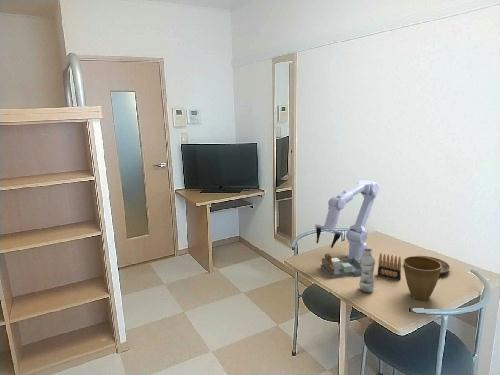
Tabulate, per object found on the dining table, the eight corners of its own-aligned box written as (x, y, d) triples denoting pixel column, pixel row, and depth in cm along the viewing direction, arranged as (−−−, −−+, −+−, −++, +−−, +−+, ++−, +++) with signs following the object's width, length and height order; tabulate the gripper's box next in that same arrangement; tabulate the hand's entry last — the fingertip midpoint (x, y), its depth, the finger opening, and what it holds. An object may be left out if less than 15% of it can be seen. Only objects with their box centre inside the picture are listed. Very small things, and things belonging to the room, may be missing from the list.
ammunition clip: (400, 278, 169) (402, 256, 166) (400, 280, 168) (401, 257, 165) (378, 273, 175) (379, 251, 172) (377, 275, 174) (378, 253, 171)
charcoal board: (342, 265, 186) (342, 261, 185) (353, 275, 174) (353, 271, 174) (320, 268, 184) (320, 264, 183) (329, 278, 172) (329, 274, 172)
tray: (353, 263, 188) (353, 257, 187) (366, 274, 175) (366, 268, 174) (342, 264, 187) (342, 258, 186) (354, 276, 173) (354, 269, 173)
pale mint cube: (348, 268, 178) (348, 262, 177) (351, 271, 174) (352, 266, 174) (341, 268, 177) (341, 263, 177) (344, 272, 174) (344, 266, 173)
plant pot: (445, 297, 152) (448, 263, 148) (427, 309, 144) (430, 273, 140) (412, 284, 164) (414, 252, 160) (394, 294, 155) (396, 261, 152)
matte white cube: (337, 262, 184) (337, 257, 184) (340, 266, 180) (340, 260, 180) (330, 263, 184) (330, 258, 183) (333, 267, 180) (333, 261, 179)
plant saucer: (407, 257, 192) (407, 252, 191) (450, 265, 182) (450, 259, 181) (401, 273, 175) (402, 267, 174) (448, 282, 164) (449, 276, 164)
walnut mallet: (325, 263, 184) (325, 249, 182) (335, 274, 172) (335, 260, 170) (320, 263, 184) (320, 250, 182) (330, 274, 171) (331, 260, 170)
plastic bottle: (366, 295, 156) (367, 254, 151) (356, 288, 162) (357, 248, 157) (377, 292, 158) (379, 251, 154) (366, 285, 164) (368, 246, 160)
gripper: (318, 216, 175) (310, 242, 175) (346, 224, 173) (339, 250, 173) (317, 215, 182) (310, 240, 182) (344, 223, 180) (337, 248, 180)
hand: (324, 245), depth 178 cm, fingers open, 7 cm apart
